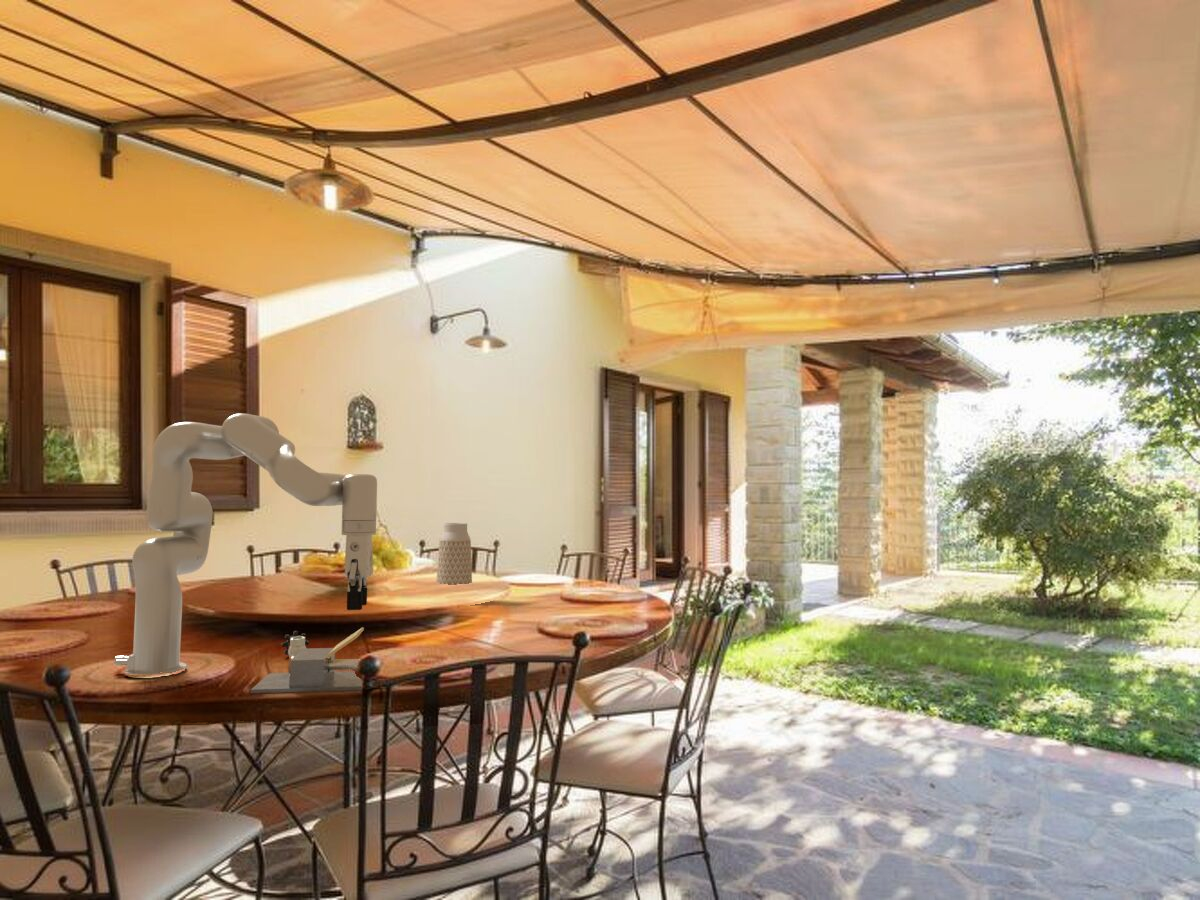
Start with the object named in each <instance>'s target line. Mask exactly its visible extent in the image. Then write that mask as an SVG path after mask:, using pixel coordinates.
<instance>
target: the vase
mask: <svg viewBox="0 0 1200 900" xmlns="http://www.w3.org/2000/svg"><path fill="white" fill-rule="evenodd" d="M471 541H472V540H471V537H470V535H469V533H468V523H467V522H466V523H465V522H445V523H443V532H442V534H441V536H440V539H439V545H438V555H437V556H438V557H437V570H436V581H435V582H436V583H438V584H448V585H457V584H469V583H472V584H473V574H472V573H473V571H472V544H471V543H472V542H471Z"/></svg>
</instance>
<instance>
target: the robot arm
mask: <svg viewBox="0 0 1200 900" xmlns="http://www.w3.org/2000/svg"><path fill="white" fill-rule="evenodd" d="M152 452H153V453H152V471H151V479H150V484H149V491H148V498H147V504H146V505H147V506H146V517H145V518H146V522H147V523H146V524H147V525H148V527H150V528H151V529H152V530H154V531H158V532H167V533H168V532H171V533H172V532H173V535H172V536H161V537H154V538H149V539H147V540H145V541H143V542H141V543H140V544H139V545H138V546H137V547H136V548H135V550H134V552H133V554H132V560H131V562H132V563H131V564H132V571H133V575H134V582H135V586H134V587H135V597H134V598H135V599H134V601H135V602H134V605H135V606H134V607H135V608H134V609H135V610H134V626H133V627H134V628H133V649H132V653H131V654H130V655H116V656H115V658H114V660H113V663H114V665H115V667H116V666H126V667H127V668H126V669H125V670H124V671H123V674H124V673H126V674H129V675H152V674H162V673H172V672H176V671H179V670H182V669H184V668H186V667H187V668H188V664H187V663H185V662H182V661H181V659H180V657H181V642H182V641H181V638H182V637H181V636H182V617H183V613H182V612H183V591H182V586H181V583H180V580H179V577H178V576H180V575H188V574H192V573H194V572H197V571H199V570H200V569H201V568H202V567H203V566H204V564H205V562H206V560H207V558H208V557H207V556H208V552H209V546H210V541H211V540H210V538H211V532H212V525H213V515H214V514H213V507H212V505H211V502H210V500H209V499H208V498H207V497H206V496H205V495H203V494H202V493H198V492H195V491H192V486H193V481H194V474H193V468H192V465H191V462H190V460H192V459H201V460H202V459H203V460H213V461H223V460H224V461H225V460H231V459H234V458H235V459H236V458H239V457H240V458H241V457H247V458H248V459H249V460H251V461H253V462H254V463H255V464H257V465H258V466H260V467H261V468H262V469H264V470H265V471H267V472H268V474H269V476H270V477H271V478H272V480H273V481H274V482H275V484H276V485H277V486H278V487H279V488H281V489H282V490H284V492H286V493H288V494H289V495H290V496H292V497H294V498H295V499H297V500H298V501H300V502H301V503H302V504H305V505H308V506H311V507H323V506H325V507H327V506H328V507H331V506H333V507H334V506H341V536H346V537H345V552H344V553H345V555H344V576H345V578H346V579H347V580H348V582H347V592H346V610H347V611H360V610H362V609H363V606H366V605H367V604H368V579H369V578H371V576H372V575H373V573H374V565H373V564H374V554H373V552H374V550H373V544H374V543H373V535H376V534H377V503H378V498H377V497H378V479H377V477H376V476H375V475H372V474H367V473H366V474H364V473H362V474H361V473H354V474H340V473H330V472H319V471H316V470H315V469H313V468H311V467H310V466H308V465H307V464H306V463H304V462H302V461H301V460H300V459H298V458H297V457H296V455H295V453H296V446H295V444H294V442H292V441H291V440H290V439H288V438H286V437H284V436H283V435H282V434H280V431H279V428H278V426H277V425H276V424H275V422H274V421H273V420H272V419H270V418H268V417H265V416H262V415H255V414H250V413H244V412H243V413H235V414H232V415H230V416H229V417H226V419H225V420H224V421H223V422H222V425H217V424H209V423H205V422H204V423H203V422H195V421H182V422H176V423H174V424H171V425H168V426H167V427H165V428H164V429H163V430H162V431H161V432H160V433H159V435H158V436H157V437H156V440H155V442H154V445H153V450H152ZM160 672H162V673H160Z"/></svg>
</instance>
